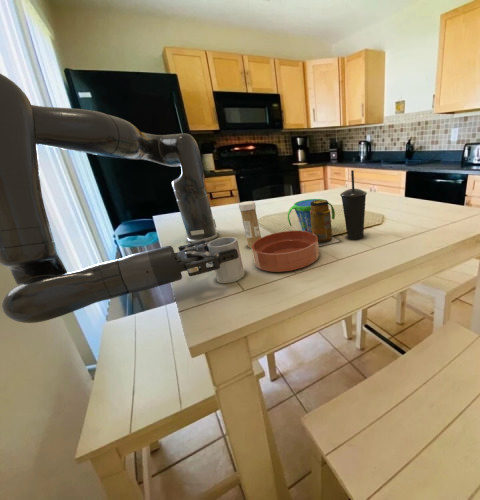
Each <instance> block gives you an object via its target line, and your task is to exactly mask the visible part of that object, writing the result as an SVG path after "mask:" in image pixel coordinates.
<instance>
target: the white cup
mask: <svg viewBox="0 0 480 500" xmlns="http://www.w3.org/2000/svg"><path fill="white" fill-rule="evenodd" d="M208 242H209V243H208V244H207V245H208V249H209V253H219V252H223V251H226V250H230V249H234V248H235V249H236V250H237V252H238V258H237V259H234V260H230V261H227V262H223V263H221V265H220V268H219V269H217V270H213V272H214V275H215V279H216V281H217V283H220V284H231V283H234V282H238V281H239V280H242V278H243V277H244V276H245V270H244V265H243V260H242V256H241V250H240V246H239V242H238V239H237V237H235V236H224V237H223V236H222V237H217V238H214V239H212V240H209V241H208Z"/></svg>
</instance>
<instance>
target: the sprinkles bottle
mask: <svg viewBox="0 0 480 500" xmlns="http://www.w3.org/2000/svg"><path fill="white" fill-rule="evenodd" d="M238 208H239V211H240V214H241V219H242V220H241V221H242V225H243V230H244V235H245V239H246V243H247V247H248V248H250V249H252V248H251V246H252V244H253V242H255V241H256V240H258V239H259V238H262V236H261V230H260V225H259V220H258V216H257V210H256V209H257V208H256V202H255V201H253V200H248V201H241V202H240V203H238Z"/></svg>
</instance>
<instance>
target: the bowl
mask: <svg viewBox="0 0 480 500" xmlns="http://www.w3.org/2000/svg"><path fill="white" fill-rule="evenodd" d="M250 249H251V252H252V258H253V262H254V265H255V267H257V268H258V269H259V270H263V271H266V272H275V273H280V272H281V273H282V272H292V271H295V270H299V269H302V268H305V267H307V266H310V265H311V264H313V263H314V262H315V261H317V260H318V259H319V257H320V246H319V245H318V237H317V236H316V235H315V234H314V233H311V232H307V231H302V230H286V231H285V230H284V231H279V232H278V231H277V232H273V233H269V234H267V235H264V236H261V238H259V239H258V240H256V241H255V242H253V244H252V246H251V248H250Z"/></svg>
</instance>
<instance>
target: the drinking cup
mask: <svg viewBox="0 0 480 500" xmlns="http://www.w3.org/2000/svg"><path fill="white" fill-rule="evenodd" d="M350 175H351V188H349V189H346V190H344V191H343V192H340V194H339V195H340V197H341V203H342V209H343V210H342V211H343V215H344V216H343V217H344V222H345V228H346V236H347V239H348V240H350V241H358V240H362V239H364V233H365V231H364V230H365V216H366V215H365V214H366V197H367V194H368V193H367V191H365V190H362V189H360V188H355V171H354V170H352V169H351V171H350Z"/></svg>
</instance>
